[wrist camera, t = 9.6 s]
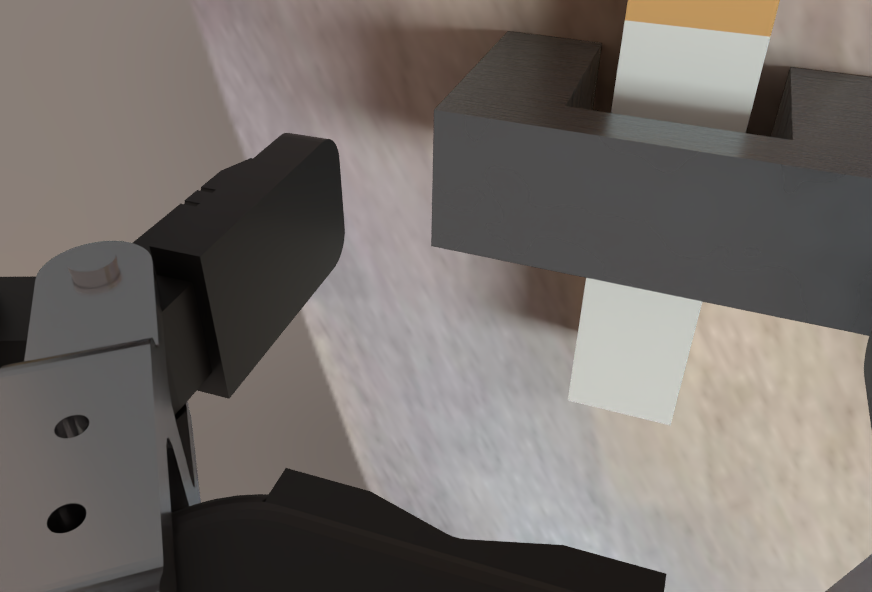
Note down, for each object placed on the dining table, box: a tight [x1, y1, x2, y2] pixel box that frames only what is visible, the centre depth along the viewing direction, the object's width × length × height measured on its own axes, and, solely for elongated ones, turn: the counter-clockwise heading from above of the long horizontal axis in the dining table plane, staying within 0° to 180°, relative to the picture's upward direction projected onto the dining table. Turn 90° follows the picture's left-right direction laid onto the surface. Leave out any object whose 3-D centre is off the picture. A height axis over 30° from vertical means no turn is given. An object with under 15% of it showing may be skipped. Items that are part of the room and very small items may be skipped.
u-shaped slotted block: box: [431, 31, 872, 336], centre depth 22 cm, size 12×4×7 cm, turn 89°
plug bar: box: [568, 0, 780, 425], centre depth 24 cm, size 4×16×4 cm, turn 179°
